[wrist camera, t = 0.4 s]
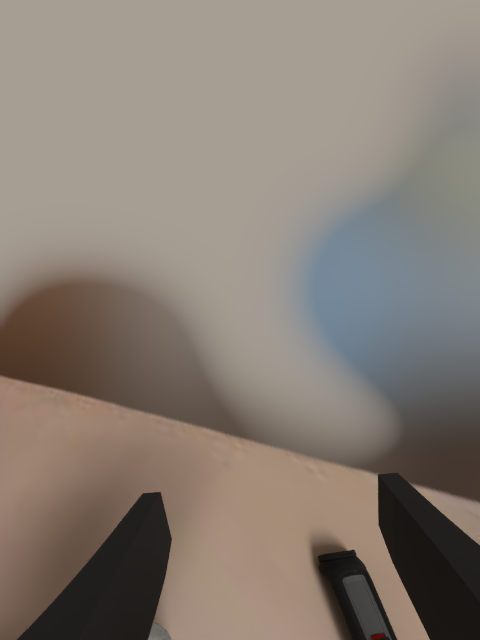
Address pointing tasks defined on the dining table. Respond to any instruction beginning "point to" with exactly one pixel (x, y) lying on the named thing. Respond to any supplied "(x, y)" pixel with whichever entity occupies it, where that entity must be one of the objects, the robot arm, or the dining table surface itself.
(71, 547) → the dining table surface
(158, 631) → the peg
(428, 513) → the robot arm
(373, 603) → the electric trimmer
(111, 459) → the dining table surface
